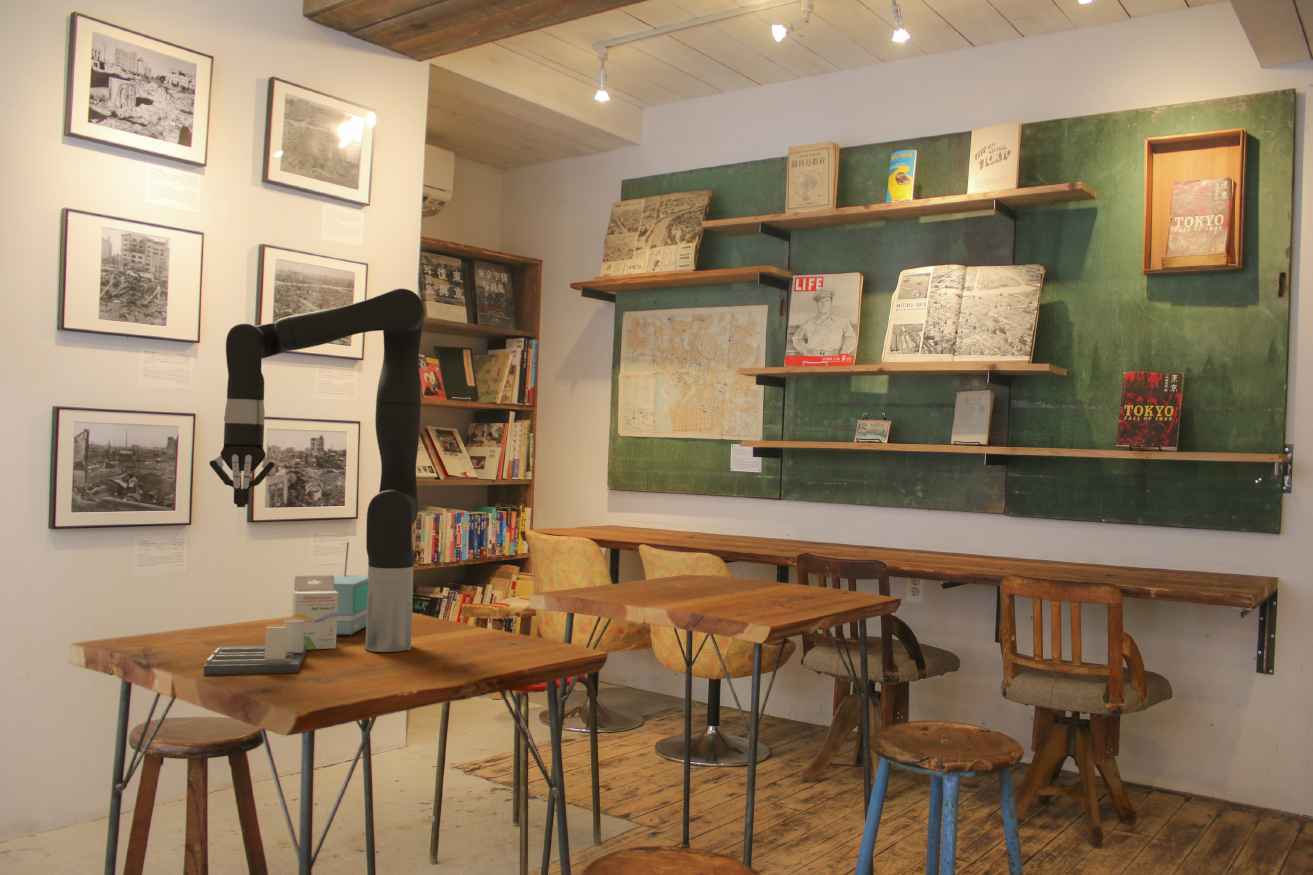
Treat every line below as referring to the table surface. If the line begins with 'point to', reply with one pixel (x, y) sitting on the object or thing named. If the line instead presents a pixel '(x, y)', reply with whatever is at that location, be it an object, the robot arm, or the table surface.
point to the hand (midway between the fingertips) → (241, 506)
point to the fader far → (295, 635)
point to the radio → (351, 602)
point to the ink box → (316, 610)
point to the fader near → (276, 642)
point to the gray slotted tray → (250, 661)
